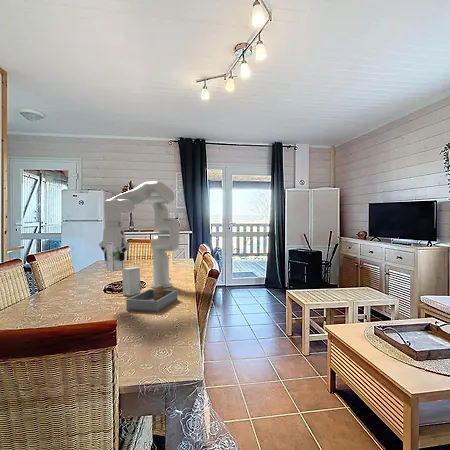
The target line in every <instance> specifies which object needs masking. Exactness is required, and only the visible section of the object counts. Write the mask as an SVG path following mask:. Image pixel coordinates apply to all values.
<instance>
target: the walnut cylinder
mask: <svg viewBox="0 0 450 450" xmlns="http://www.w3.org/2000/svg"><path fill="white" fill-rule="evenodd" d="M152 289H153V290H154V301H157V300H159V299H161V298H162V297H164V290H165V288H163V285H157V286H153V288H152Z"/></svg>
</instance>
